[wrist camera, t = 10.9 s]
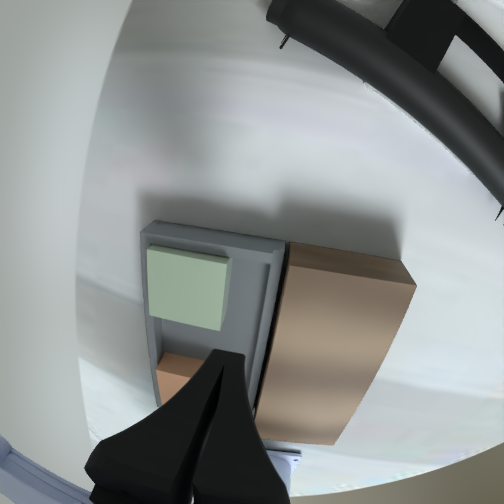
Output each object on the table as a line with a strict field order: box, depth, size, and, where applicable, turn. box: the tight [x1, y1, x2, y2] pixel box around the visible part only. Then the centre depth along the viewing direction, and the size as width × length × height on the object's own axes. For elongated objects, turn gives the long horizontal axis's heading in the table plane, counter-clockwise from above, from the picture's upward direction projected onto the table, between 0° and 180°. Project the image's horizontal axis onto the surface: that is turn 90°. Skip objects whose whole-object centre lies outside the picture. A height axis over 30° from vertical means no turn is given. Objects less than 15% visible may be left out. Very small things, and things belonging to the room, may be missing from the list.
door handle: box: [266, 0, 504, 225], centre depth 10 cm, size 3×20×16 cm
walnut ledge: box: [254, 242, 417, 445], centre depth 20 cm, size 16×7×3 cm, turn 173°
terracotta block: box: [156, 352, 205, 405], centre depth 22 cm, size 4×4×2 cm
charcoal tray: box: [140, 220, 285, 411], centre depth 21 cm, size 16×8×2 cm, turn 173°
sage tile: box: [147, 244, 233, 331], centre depth 18 cm, size 4×4×2 cm
